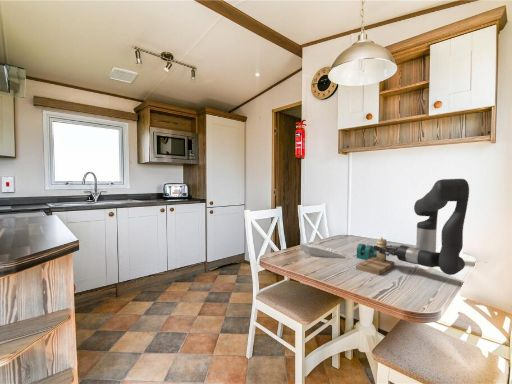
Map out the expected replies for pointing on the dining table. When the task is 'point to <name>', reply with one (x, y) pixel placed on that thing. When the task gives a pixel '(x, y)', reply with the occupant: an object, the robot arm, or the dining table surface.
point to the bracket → (365, 252)
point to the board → (375, 266)
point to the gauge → (380, 256)
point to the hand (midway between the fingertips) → (376, 247)
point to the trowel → (319, 251)
